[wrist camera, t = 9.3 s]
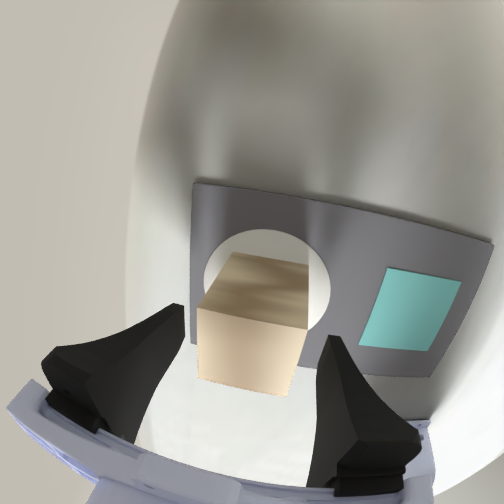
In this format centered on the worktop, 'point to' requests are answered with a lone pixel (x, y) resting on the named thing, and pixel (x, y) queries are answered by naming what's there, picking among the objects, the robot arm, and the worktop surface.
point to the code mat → (346, 273)
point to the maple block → (253, 324)
